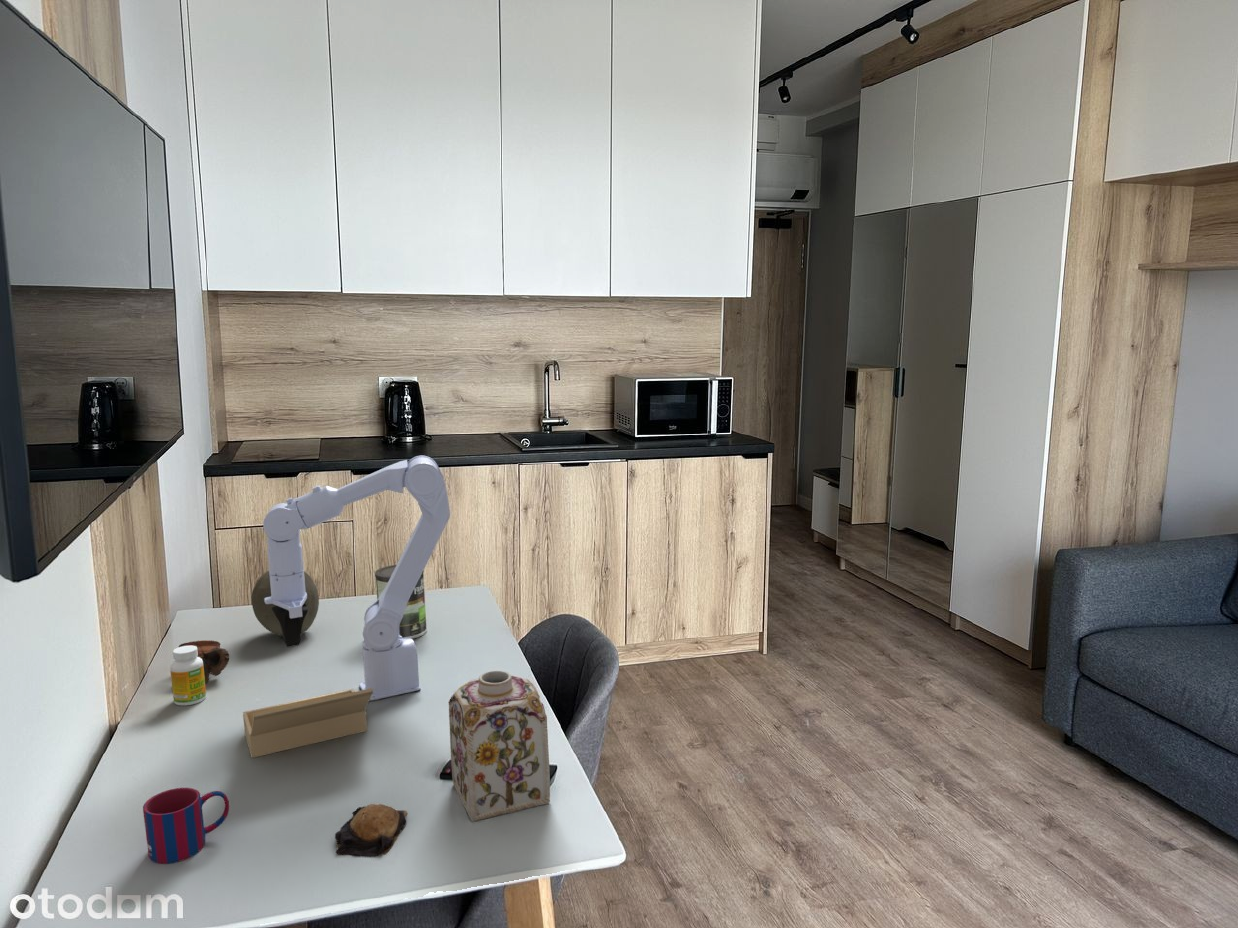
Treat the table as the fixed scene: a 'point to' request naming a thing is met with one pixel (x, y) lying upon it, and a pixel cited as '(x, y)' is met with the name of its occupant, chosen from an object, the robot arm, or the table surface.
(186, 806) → the cup
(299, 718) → the lid flap
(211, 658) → the pottery mug
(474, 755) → the decorative jar
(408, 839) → the table surface
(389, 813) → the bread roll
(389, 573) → the coffee can
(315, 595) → the cantaloupe
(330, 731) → the carton
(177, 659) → the supplement bottle
